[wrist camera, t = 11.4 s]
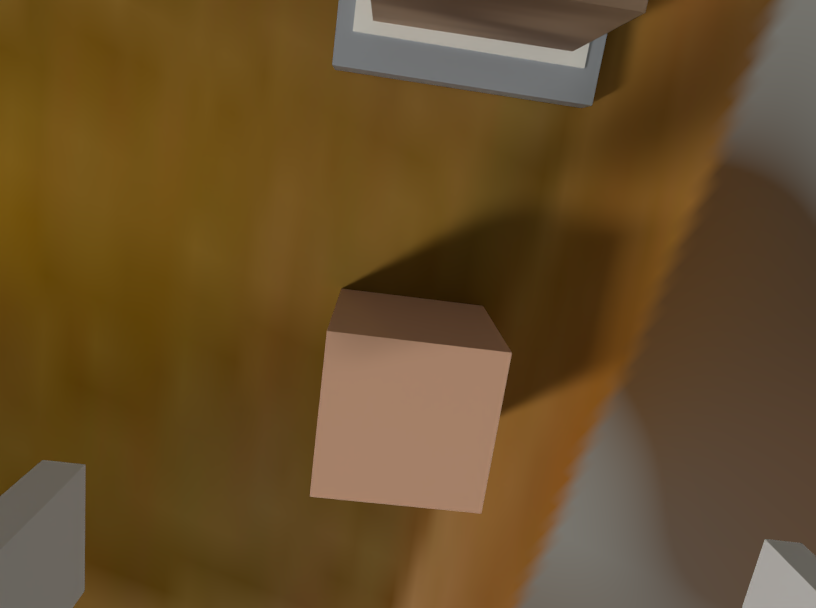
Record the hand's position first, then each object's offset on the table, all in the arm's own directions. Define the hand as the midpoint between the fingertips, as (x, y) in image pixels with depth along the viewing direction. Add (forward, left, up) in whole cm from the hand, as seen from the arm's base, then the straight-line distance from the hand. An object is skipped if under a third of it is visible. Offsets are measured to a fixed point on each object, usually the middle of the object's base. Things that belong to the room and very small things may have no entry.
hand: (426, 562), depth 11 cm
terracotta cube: (0, 0, -10) cm, 10 cm away
